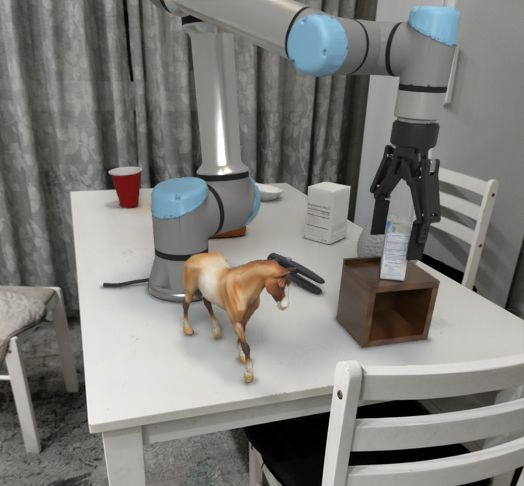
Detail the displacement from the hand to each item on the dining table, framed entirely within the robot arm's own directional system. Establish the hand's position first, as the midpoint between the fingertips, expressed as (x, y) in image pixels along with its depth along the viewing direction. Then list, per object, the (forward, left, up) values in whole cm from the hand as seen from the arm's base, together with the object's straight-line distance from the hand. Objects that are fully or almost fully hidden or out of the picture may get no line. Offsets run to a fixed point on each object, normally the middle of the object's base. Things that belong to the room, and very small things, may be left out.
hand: (394, 246), depth 96 cm
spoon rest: (+1, +103, -18) cm, 105 cm away
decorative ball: (+14, +25, -18) cm, 34 cm away
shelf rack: (0, 0, -17) cm, 17 cm away
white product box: (+11, +56, -18) cm, 60 cm away
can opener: (-9, +26, -18) cm, 33 cm away
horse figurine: (-30, 0, -18) cm, 35 cm away
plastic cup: (-42, +100, -18) cm, 110 cm away
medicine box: (0, 0, -5) cm, 5 cm away
